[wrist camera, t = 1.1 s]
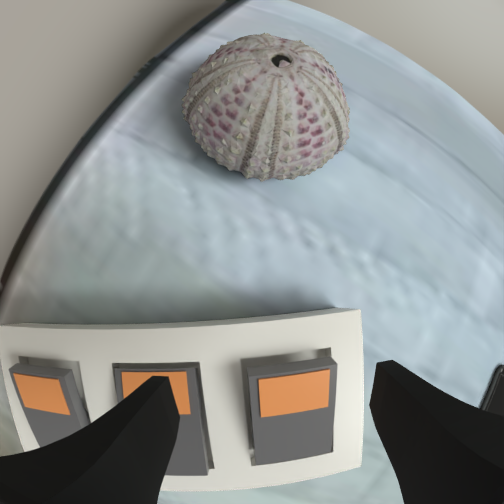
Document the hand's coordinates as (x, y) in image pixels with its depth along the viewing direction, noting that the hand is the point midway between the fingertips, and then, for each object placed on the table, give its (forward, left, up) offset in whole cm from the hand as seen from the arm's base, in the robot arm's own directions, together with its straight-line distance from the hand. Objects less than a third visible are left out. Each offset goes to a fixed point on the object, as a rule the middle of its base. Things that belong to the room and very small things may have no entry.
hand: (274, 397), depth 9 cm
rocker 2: (-4, -2, -8) cm, 9 cm away
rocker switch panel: (-4, +6, -12) cm, 14 cm away
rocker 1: (-4, +14, -8) cm, 16 cm away
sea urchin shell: (+18, -3, -12) cm, 22 cm away
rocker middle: (-4, +6, -8) cm, 10 cm away
